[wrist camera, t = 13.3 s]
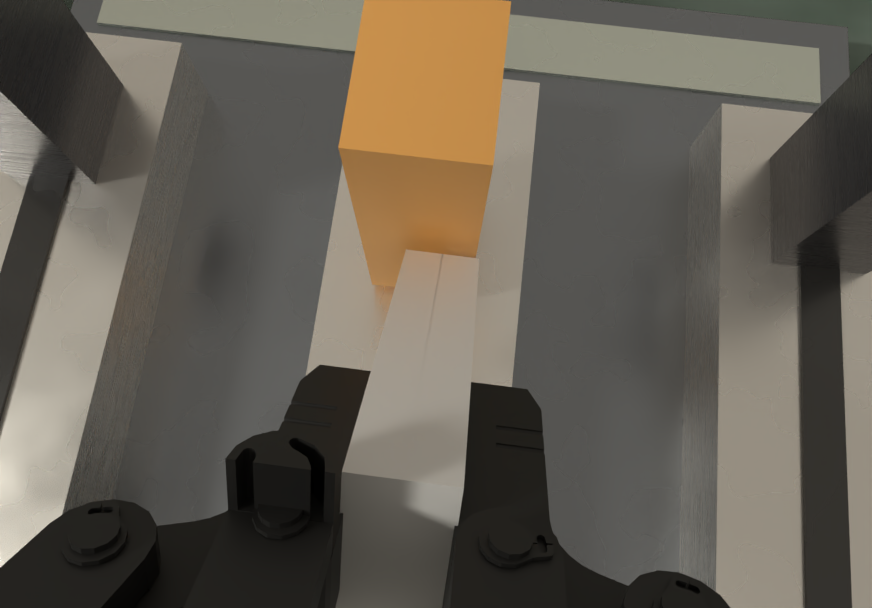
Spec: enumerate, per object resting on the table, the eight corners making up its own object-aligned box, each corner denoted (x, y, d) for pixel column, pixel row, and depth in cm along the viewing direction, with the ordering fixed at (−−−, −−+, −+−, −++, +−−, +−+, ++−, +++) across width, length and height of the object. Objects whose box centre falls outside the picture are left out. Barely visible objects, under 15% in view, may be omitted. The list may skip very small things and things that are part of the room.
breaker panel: (-128, 783, 18) (-875, 1153, 8) (110, -24, 25) (-119, -406, 15) (850, 917, 18) (1462, 1506, 7) (823, 55, 25) (1118, -284, 14)
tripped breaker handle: (372, 284, 18) (338, 148, 11) (388, 174, 19) (366, -15, 12) (468, 295, 18) (493, 165, 11) (480, 185, 19) (511, 1, 12)
